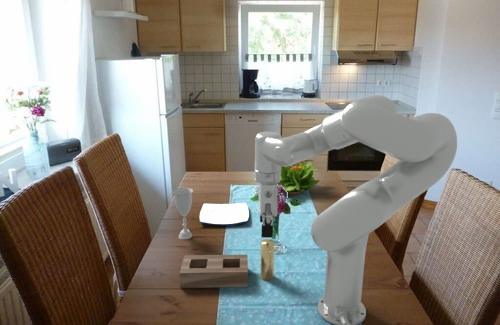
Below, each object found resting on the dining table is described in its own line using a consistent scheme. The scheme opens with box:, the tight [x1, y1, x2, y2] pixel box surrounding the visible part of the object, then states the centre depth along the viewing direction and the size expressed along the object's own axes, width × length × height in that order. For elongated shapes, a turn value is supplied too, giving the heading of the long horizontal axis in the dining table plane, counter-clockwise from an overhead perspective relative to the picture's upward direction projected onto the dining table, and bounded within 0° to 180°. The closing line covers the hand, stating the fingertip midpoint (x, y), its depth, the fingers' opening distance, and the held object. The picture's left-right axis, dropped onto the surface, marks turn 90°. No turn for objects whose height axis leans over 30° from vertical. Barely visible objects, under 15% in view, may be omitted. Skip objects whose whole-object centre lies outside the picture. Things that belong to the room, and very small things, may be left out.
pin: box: [260, 238, 275, 281], centre depth 121 cm, size 4×4×12 cm
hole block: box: [179, 254, 249, 289], centre depth 122 cm, size 10×20×5 cm, turn 91°
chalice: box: [172, 187, 194, 240], centre depth 146 cm, size 7×7×18 cm
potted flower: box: [277, 159, 320, 195], centre depth 193 cm, size 25×24×18 cm
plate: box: [199, 202, 250, 227], centre depth 165 cm, size 20×20×3 cm
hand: (266, 229), depth 119 cm, fingers open, 9 cm apart
